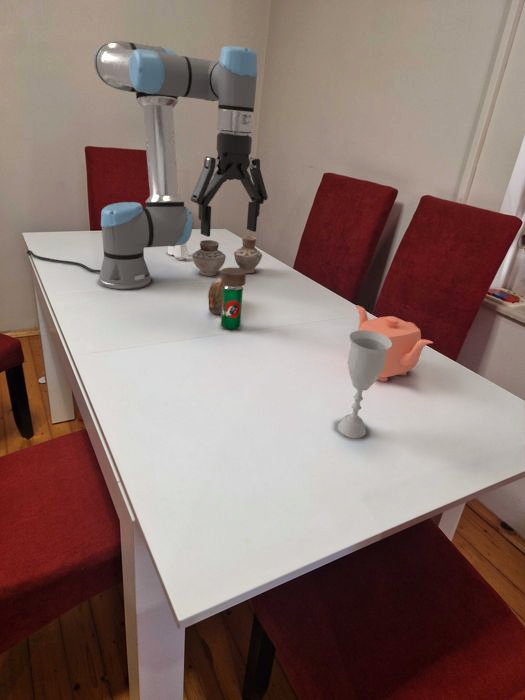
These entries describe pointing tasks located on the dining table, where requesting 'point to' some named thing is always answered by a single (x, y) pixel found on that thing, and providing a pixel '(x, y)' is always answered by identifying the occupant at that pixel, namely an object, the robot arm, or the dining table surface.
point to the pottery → (214, 259)
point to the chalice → (363, 374)
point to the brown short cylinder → (233, 277)
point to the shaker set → (178, 251)
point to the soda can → (231, 307)
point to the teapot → (396, 342)
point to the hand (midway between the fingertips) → (229, 232)
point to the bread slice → (215, 296)
